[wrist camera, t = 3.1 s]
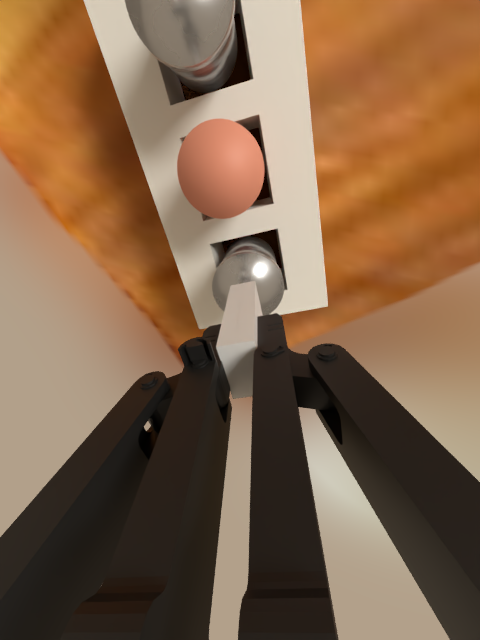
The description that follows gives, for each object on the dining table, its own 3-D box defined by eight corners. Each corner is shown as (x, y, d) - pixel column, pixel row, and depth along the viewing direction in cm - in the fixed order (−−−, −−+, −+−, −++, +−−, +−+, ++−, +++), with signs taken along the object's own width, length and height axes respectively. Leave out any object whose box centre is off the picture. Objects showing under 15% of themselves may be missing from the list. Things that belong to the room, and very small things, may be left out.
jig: (117, 12, 20) (67, -45, 15) (278, -51, 18) (287, -142, 13) (209, 302, 31) (199, 329, 26) (315, 281, 29) (327, 306, 24)
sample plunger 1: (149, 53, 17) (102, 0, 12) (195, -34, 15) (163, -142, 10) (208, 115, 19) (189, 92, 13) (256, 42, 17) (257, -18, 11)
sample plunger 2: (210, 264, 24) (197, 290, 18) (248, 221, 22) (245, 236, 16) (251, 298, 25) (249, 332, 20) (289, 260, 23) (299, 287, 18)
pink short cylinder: (184, 175, 20) (160, 176, 15) (226, 115, 18) (214, 93, 13) (233, 220, 22) (225, 235, 16) (276, 169, 20) (283, 168, 15)
